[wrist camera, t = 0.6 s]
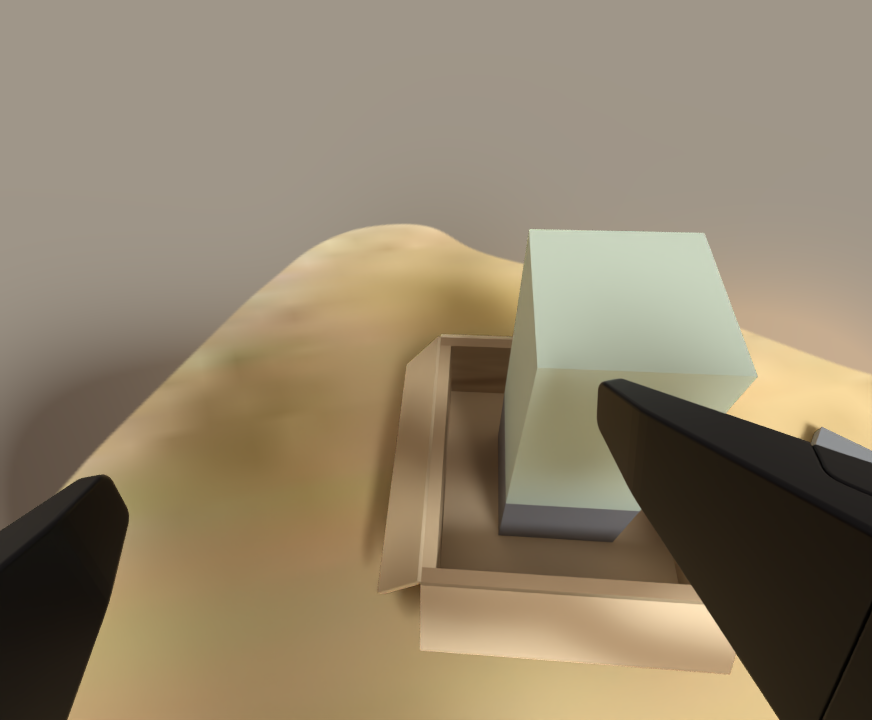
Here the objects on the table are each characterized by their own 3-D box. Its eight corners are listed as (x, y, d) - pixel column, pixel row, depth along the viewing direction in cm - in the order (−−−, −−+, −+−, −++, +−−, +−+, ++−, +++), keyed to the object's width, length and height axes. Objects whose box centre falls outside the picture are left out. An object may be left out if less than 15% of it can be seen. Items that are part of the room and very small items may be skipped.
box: (612, 542, 22) (757, 376, 11) (498, 535, 22) (537, 367, 12) (598, 439, 25) (704, 232, 14) (498, 435, 25) (528, 229, 15)
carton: (754, 682, 19) (826, 672, 15) (377, 653, 20) (360, 637, 16) (674, 370, 28) (708, 315, 24) (412, 359, 29) (406, 306, 25)
